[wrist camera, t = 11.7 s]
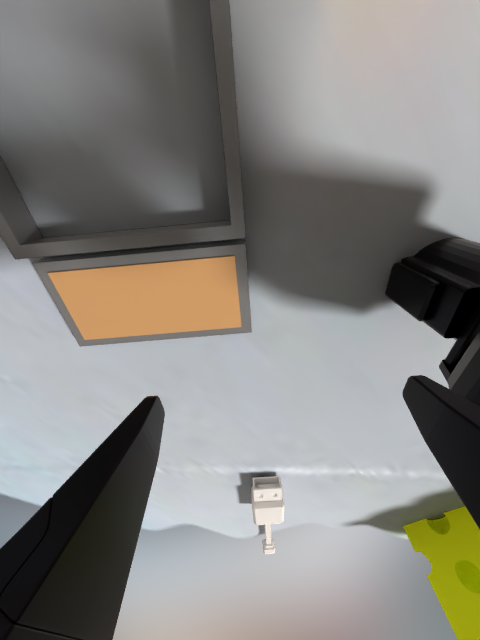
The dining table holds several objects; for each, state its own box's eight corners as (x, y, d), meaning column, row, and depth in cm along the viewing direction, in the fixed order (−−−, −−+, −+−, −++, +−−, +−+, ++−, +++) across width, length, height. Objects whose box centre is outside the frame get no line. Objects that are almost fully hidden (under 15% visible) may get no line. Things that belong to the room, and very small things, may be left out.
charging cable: (257, 541, 50) (258, 562, 47) (249, 471, 34) (250, 497, 31) (278, 540, 50) (281, 560, 47) (281, 469, 34) (285, 495, 31)
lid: (244, 240, 16) (245, 244, 15) (250, 325, 20) (251, 333, 19) (42, 259, 16) (30, 264, 16) (86, 339, 20) (78, 347, 19)
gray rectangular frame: (202, -351, 7) (193, -522, 5) (244, 231, 16) (245, 237, 14) (-251, -278, 7) (-397, -416, 6) (38, 250, 16) (14, 259, 14)
